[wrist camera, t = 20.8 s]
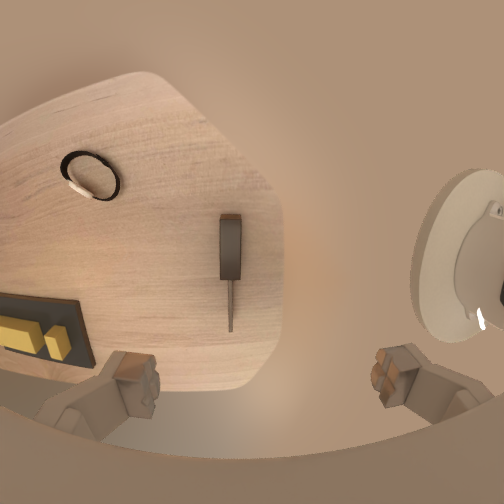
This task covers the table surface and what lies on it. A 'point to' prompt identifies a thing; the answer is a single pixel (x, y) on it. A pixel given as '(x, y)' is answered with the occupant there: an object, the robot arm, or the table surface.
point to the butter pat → (57, 342)
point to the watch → (79, 188)
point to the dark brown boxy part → (230, 254)
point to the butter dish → (51, 325)
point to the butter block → (21, 334)
